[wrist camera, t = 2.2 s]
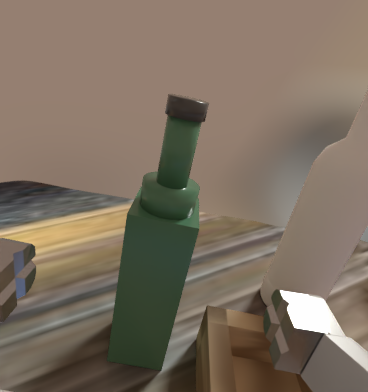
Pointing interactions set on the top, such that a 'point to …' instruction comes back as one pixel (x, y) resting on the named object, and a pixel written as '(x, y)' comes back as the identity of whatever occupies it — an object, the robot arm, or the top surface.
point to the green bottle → (158, 244)
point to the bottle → (325, 218)
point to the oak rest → (238, 356)
